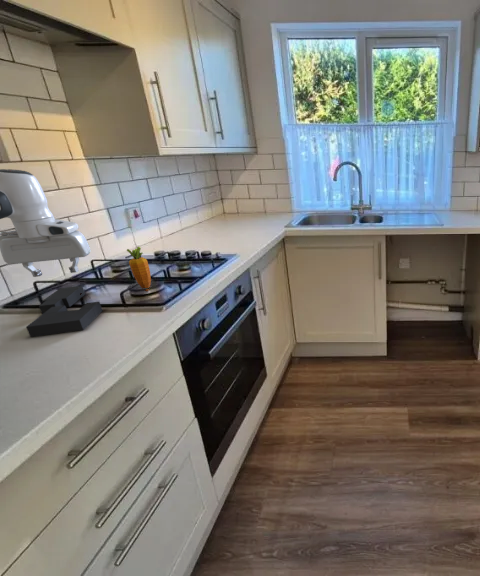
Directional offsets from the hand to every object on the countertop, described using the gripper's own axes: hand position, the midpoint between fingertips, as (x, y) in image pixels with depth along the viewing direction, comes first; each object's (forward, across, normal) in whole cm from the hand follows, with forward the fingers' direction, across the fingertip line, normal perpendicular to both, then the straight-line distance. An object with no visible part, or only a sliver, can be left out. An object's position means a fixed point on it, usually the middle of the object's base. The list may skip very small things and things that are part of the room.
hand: (56, 274), depth 108 cm
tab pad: (+9, -1, -2) cm, 9 cm away
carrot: (+10, +22, +1) cm, 24 cm away
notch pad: (+9, +8, -17) cm, 21 cm away
